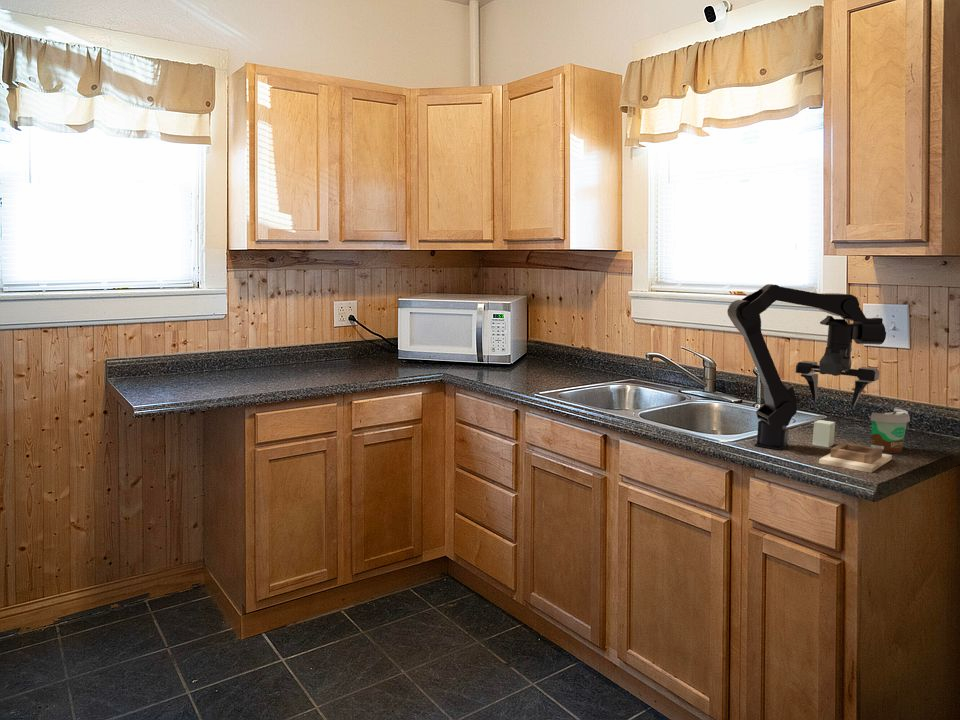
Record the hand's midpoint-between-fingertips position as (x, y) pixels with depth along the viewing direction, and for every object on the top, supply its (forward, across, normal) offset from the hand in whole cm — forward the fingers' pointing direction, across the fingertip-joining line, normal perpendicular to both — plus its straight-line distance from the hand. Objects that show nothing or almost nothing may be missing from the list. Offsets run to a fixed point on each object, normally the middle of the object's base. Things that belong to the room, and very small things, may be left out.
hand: (833, 404), depth 199 cm
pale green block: (+11, -2, +2) cm, 12 cm away
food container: (+11, +13, +7) cm, 19 cm away
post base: (+11, +9, -11) cm, 18 cm away
